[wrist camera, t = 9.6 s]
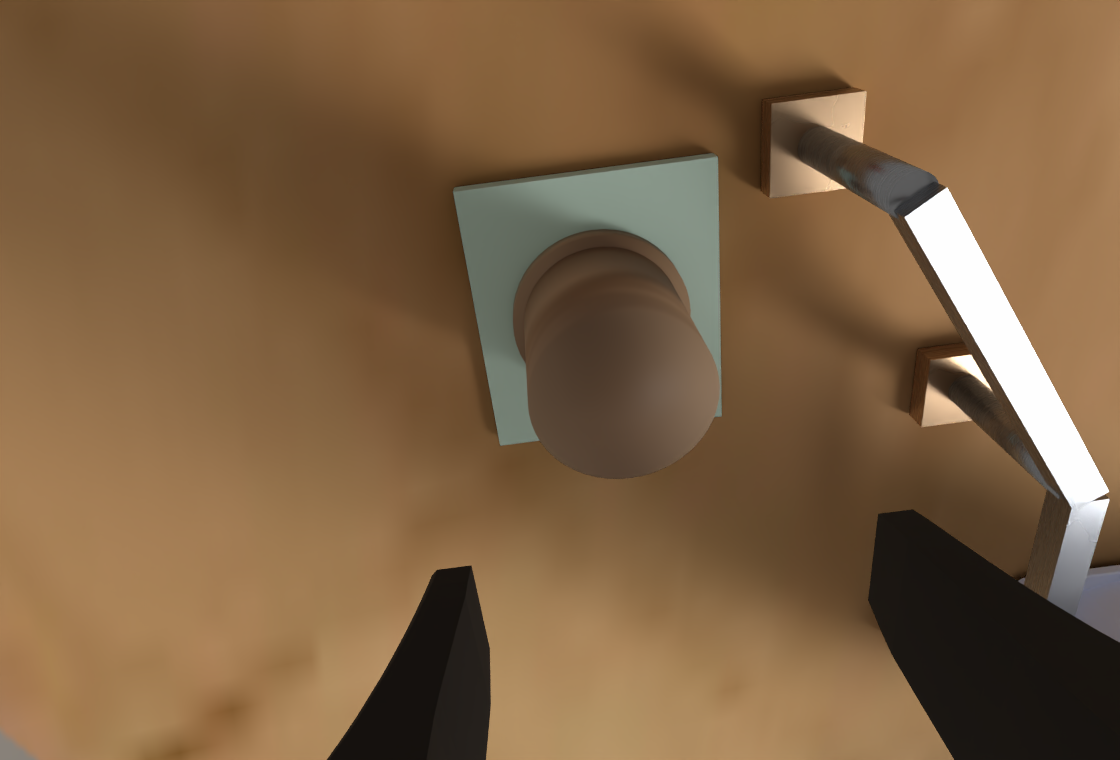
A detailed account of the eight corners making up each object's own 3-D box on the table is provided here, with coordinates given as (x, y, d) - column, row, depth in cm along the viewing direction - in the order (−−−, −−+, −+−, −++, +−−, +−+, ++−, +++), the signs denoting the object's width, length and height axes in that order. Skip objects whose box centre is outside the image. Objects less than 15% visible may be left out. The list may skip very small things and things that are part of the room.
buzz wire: (1043, 61, 19) (1268, 93, 14) (942, 624, 29) (1048, 780, 23) (761, 99, 19) (868, 146, 14) (754, 648, 29) (815, 811, 23)
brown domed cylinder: (682, 217, 20) (732, 282, 16) (688, 378, 22) (733, 474, 18) (500, 241, 20) (498, 313, 16) (525, 400, 22) (530, 501, 18)
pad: (713, 153, 20) (718, 156, 19) (717, 408, 24) (721, 416, 23) (453, 187, 20) (452, 192, 19) (500, 437, 24) (499, 445, 23)
